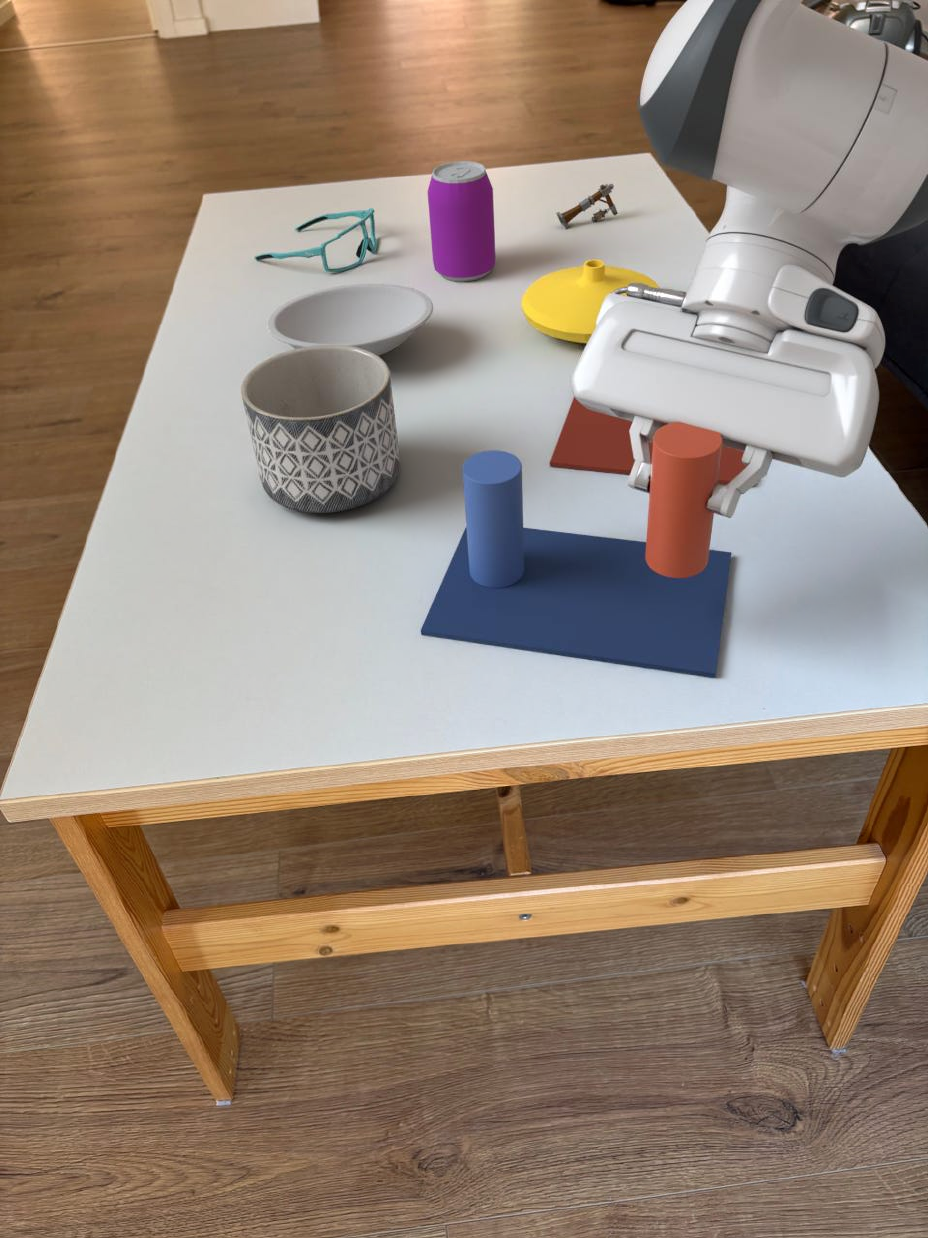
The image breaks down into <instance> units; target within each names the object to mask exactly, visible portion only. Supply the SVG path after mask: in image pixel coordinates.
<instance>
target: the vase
mask: <svg viewBox="0 0 928 1238" xmlns="http://www.w3.org/2000/svg"><path fill="white" fill-rule="evenodd" d="M630 283H642V284H646V285H648V286H649V287H653V288H661V287H660V286H659V285H658V283H657V282H656V281H655V280H654V279H652V278H650V277H649V276H648V275H646V274H644V273H641V272H638V271H636V270H633V269H630V268H624V267H619V266H611V265H605V262H604V261H603V260H601V259H589V260H588V259H587V260H586V261H584V263H583V265H579V266H573V267H566V268H563V269H558V270H556V271H551V272H550V273H547V274H545V275H543V276H541V277H539V278H538V279H536V280H535V281H534V282H533V283H531V284H530V285H529V287H528V288H527V289H526V290H525V292H524V293H523V295H522V297H521V304H520V305H521V306H520V307H521V310H522V312H523V315H524V317H525V319H526V320H527V322H528V324H529V325H530V326H532V328H534V330H536V331H538V332H540V333H542V334H545V335H547V336H549V337H551V338H556V339H560V340H564V341H566V342H567V341H568V342H572V343H579V344H587V343H588V341H589V339H590V337H591V335H592V333H593V332H594V330H595V328H596V320H597V317H598V314H599V311H600V309H601V306H602V303H603V301H604V299H605V298H606V296H607V295H608V294H610V293H612V292H613V291H615V290H616V289H619V288H622V287H628V285H629V284H630ZM620 295H624V296H627V294H626V293H622V294H620Z"/></svg>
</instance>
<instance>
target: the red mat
mask: <svg viewBox="0 0 928 1238" xmlns="http://www.w3.org/2000/svg"><path fill="white" fill-rule="evenodd" d="M632 423H633V422H632V421H629V420H625V419H621V418H617V417H614V416H610V415H606V414H602V413H599V412H595V411H592V410H589V409H587V408H586V407H584V406H583V405H582V404H581V403H580V402H579V401H578V400H577V399H576V398H575V396H574V395H573V398H572V402H571V403H570V407H569V409H568V412H567V414H566V417H565V420H564V423H563V425H562V427H561V431H560V434H559V436H558V439H557V441H556V445H555V447H554V450H553V452H552V455H551V458H550V460H549V467H552V468H561V469H571V470H579V471H581V470H582V471H589V472H601V473H609V474H619V475H620V474H621V475H629V476H630V473H631V471H632V468H633V465H634V463H635V459H634V456H633V450H632V444H631V438H630V432H629V431H630V428H631V425H632ZM648 447H649V454H650V461H651V464H652V451H653V443H651V442H649V441H648ZM743 454H744V451H740V450H737V449H733V448H729V447H725V446H722V450H721V459H720V467H719V475H718V483H719V484H722V485H726V486H727V484H729V483H730V482H731V481H732V480H733V479H734V478H735V477H736V476H737V475H738V474H739V473H741V472H742V471H743V470H744V469H745V468H746V466H745V464H744V463H743V462H742V457H743Z"/></svg>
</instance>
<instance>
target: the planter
mask: <svg viewBox="0 0 928 1238" xmlns="http://www.w3.org/2000/svg"><path fill="white" fill-rule="evenodd" d="M240 395H241V399H242V403H243V407H244V412H245V416H246V420H247V424H248V429H249V433H250V434H249V435H250V437H251V443H252V447H253V450H254V455H255V459H256V465H257V468H258V472H259V476H260V481H261V485H262V488H263V490H264V492H265V493H266V494H267V496H268V497H269V498H270V499H271V500H272V501H274V502H275V503H277V504H278V505H281V507H284V508H287V509H290V510H293V511H297V512H302V513H310V514H328V513H329V514H330V513H338V512H343V511H347V510H352V509H354V508H359V507H361V506H364V505H366V504H368V503H370V502H372V501H374V500H375V499H378V498H379V497H381V496H382V495H383V494H385V492H388V490H389V489H390V488H391V487H392V486H393V485H394V484H395V482H396V480H397V479H398V477H399V474H400V470H401V457H400V449H399V441H398V431H397V423H396V414H395V406H394V398H393V389H392V381H391V373H390V368H389V366H388V364H387V363H386V361H385V360H384V359H383V358H382V357H380V355H379V356H377V355H375V354H374V353H372V352H369V351H367V350H364V349H360V348H356V347H351V346H344V345H317V346H309V347H303V348H298V349H295V348H293V349H291V350H287V351H284V352H280V353H279V354H277V355H276V354H275V355H273V356H271V357H269V358H267V359H266V360H263V361H262V362H260V363H259V364H257V365H256V366H255V367H254V368H252V369H251V370H249V372H248V373H247V375H246V376H245V377H244V379H243V381H242V384H241V386H240Z"/></svg>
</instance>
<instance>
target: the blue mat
mask: <svg viewBox="0 0 928 1238" xmlns="http://www.w3.org/2000/svg"><path fill="white" fill-rule="evenodd" d="M523 537H524V573H523V575H522V577H521V578H520V579H519V580H518V581H517V582H516V583H514V584H512V585H510V586H507V587H502V588H490V587H485V586H482V585H480V584H478V583H476V582H475V581H474V580H473V579H472V577H471V575H470V570H469V556H468V542H467V527H466V526H465V528H464V530H463V533H462V535H461V536H460V539H459V541H458V544H457V547H456V548H455V551H454V553H453V556H452V558H451V560H450V562H449V564H448V567H447V568H446V571H445V574H444V575H443V578H442V581H441V583H440V584H439V588H438V590H437V591H436V594H435V597H434V599H433V601H432V604H431V606H430V607H429V610H428V612H427V615H426V617H425V619H424V621H423V624H422V626H421V629H420V635H422V636H429V637H433V638H434V637H435V638H442V639H448V640H454V641H455V640H456V641H462V642H469V643H475V644H483V645H490V646H497V647H502V648H509V649H516V650H523V651H529V652H537V653H544V654H551V655H556V656H563V657H570V658H578V659H584V660H590V661H598V662H604V663H611V664H618V665H623V666H624V665H625V666H631V667H637V668H638V667H639V668H645V669H652V670H659V671H664V672H670V673H671V672H672V673H678V674H685V675H686V674H687V675H692V676H700V677H706V678H713V679H715V678H716V676H717V669H718V660H719V654H720V647H721V638H722V629H723V623H724V616H725V615H724V614H725V607H726V599H727V591H728V583H729V577H730V576H729V575H730V569H731V561H732V552H731V551H726V550H725V551H723V550H716V549H709V557H708V563H707V566H706V567H705V569H704V570H703V571H701V572H700V573H698V574H697V575H694V576H691V577H687V578H671V577H666V576H663V575H660V574H658V573H656V572H655V571H653V570H652V569H651V568H650V567H649V566H648V564H647V562H646V559H645V554H646V541H640V540H632V539H623V538H617V537H616V538H615V537H606V536H598V535H591V534H590V535H589V534H581V533H574V532H564V531H555V530H546V529H538V528H532V527H523Z"/></svg>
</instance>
